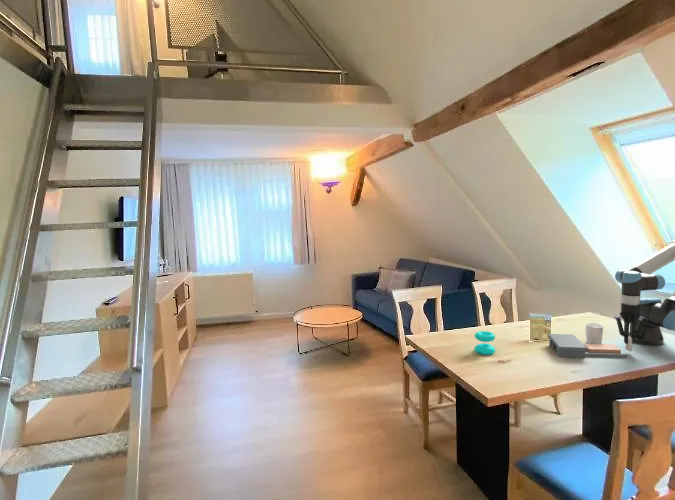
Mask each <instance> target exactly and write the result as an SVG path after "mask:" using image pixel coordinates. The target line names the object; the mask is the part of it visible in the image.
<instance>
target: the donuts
mask: <svg viewBox="0 0 675 500" xmlns="http://www.w3.org/2000/svg"><path fill="white" fill-rule="evenodd" d="M474 338H475V339H476V340H478V341H479V342H483V343H478V344H476V346H474V350H475V352H476V353H477V354H480V355H484V356H489V355H493V354H494V353H495V352H496V347H495V346H493V345H492V344H489V342H492V341H494V340H495V339H496V334H494V333H493V332H491V331H487V330H486V331H485V330H481V331H480V330H479V331H477V332H475V333H474Z"/></svg>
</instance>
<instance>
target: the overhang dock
mask: <svg viewBox="0 0 675 500" xmlns="http://www.w3.org/2000/svg"><path fill="white" fill-rule="evenodd" d="M548 338H549V341H548V343H549V347H551V348H552V349H553V350H554V352H555V353H556V356H557V357H561V358H562V357H564V358H586V357H588V358H589V357H592V358H593V357H594V358H618V359H620V358H623V359H628V358H629V355H628V354H627V353H621V354H618V353H588V352H586V351H587V347H586V346H585V345H584V344H583V342H582V341H580V339H578V338H577V336H575V334H574V333H573V334H571V333H548ZM616 346H617V345H616ZM617 347H618V346H617ZM618 348H619V347H618Z"/></svg>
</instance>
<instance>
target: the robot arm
mask: <svg viewBox="0 0 675 500" xmlns="http://www.w3.org/2000/svg"><path fill="white" fill-rule="evenodd" d="M674 261H675V239H674V240H673V239H672V241H670V242H669V245H667V246H665V247H664V248H662V249H661V250H659V251H657V252H655V253H653V254H652V255H650V256H648V257H646V258H645V259H643V260H642V261H640V262H638V263H636V264H635V265H633V266H631V267H629V268H628V269H623V268H622V269H619V270H617V271H616V272H615V275H614V278H615V280H616V281H615V282H617V283H619V284H621V295H620V296H621V297H620V298H621V299H620V302H621V303H620V313H619V315H617V316H616V315H615V316H614V320H616V325H617V328H618V333H619V335H620V336H622V337H623V343H624V344H625V350H626V351H628V352H632V350H633V349H632V346H633V345H634V344H640V345H646V346H647V345H648V346H661V345H663V344H664V342H665V341H664V340H665V339H664V335H663V333H662V329H661V328H663V329H666V330H668V331H673V332H675V290H674V291H673V293H672V294H671V296H670V297H666V298H665V299H664V300H663V302H662V299H661V298H659V297H658V298H657V297H641V293H642V292H644V291H645V292H646V291H659V290H662V289H663V288H664V287H665V286H666V278H665V277H664V275H661V274H655V272H657V271H658V270H660V269H662V268H663V267H665V266H667V265H669V264H670V263H673V262H674ZM622 320H623V323H622ZM623 325H624V326H623Z"/></svg>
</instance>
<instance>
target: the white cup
mask: <svg viewBox="0 0 675 500" xmlns="http://www.w3.org/2000/svg"><path fill="white" fill-rule="evenodd" d="M603 333H604V325H603V324H600V323H596V322H595V323H593V322H588V323H587V322H586V323H585V336H586V337H585V338H586V343H588V344H603V343H602V342H603Z"/></svg>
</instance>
